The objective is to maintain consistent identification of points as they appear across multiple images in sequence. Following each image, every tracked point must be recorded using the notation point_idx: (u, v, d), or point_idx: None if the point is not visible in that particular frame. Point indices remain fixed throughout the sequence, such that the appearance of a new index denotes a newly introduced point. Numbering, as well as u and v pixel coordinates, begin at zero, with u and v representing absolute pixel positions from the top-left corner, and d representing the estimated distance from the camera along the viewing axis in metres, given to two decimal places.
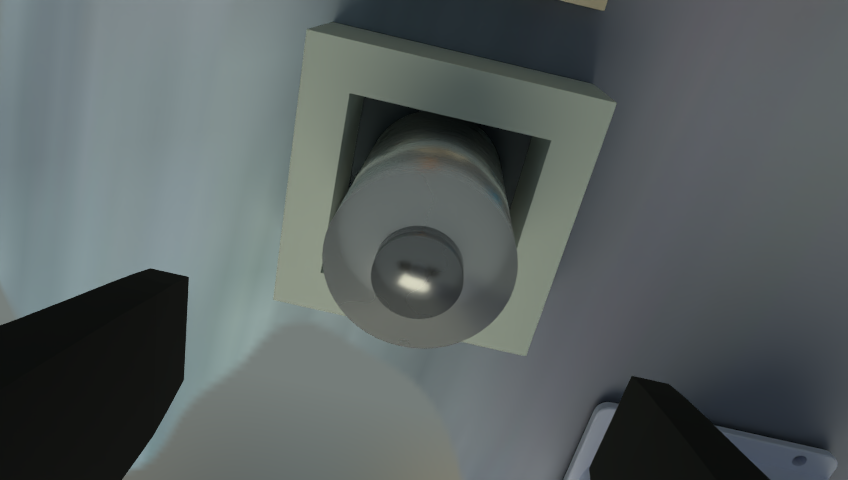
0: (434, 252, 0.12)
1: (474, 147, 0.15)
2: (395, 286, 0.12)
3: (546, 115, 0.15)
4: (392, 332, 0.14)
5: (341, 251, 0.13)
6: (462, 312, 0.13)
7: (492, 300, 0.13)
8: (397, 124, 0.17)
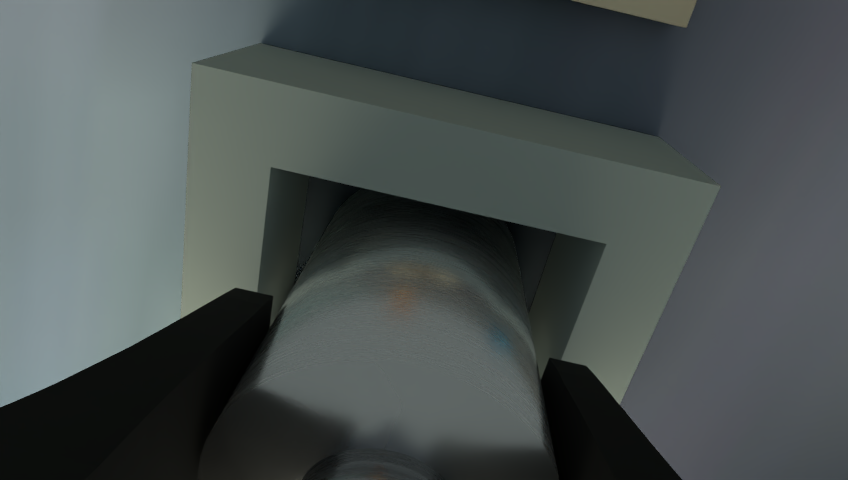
0: None
1: (479, 253, 0.09)
2: None
3: (599, 205, 0.09)
4: None
5: None
6: None
7: None
8: (360, 197, 0.11)
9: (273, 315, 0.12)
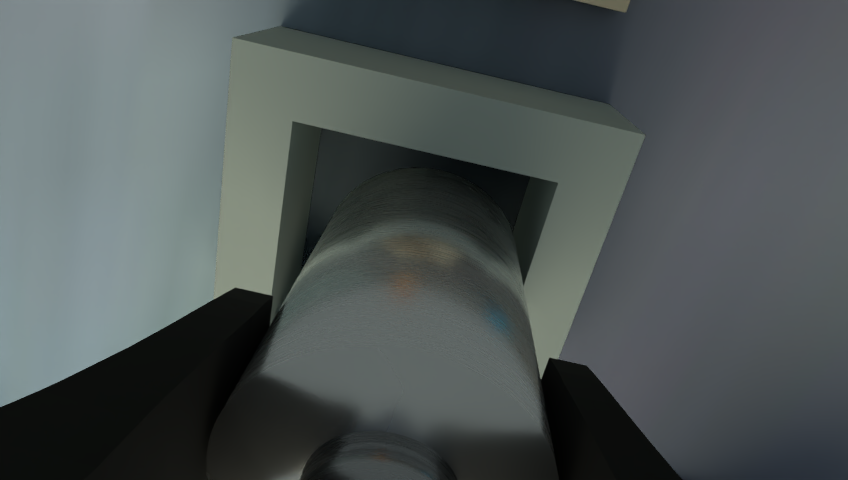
0: None
1: (478, 244, 0.09)
2: None
3: (552, 150, 0.11)
4: None
5: (240, 466, 0.07)
6: None
7: None
8: (362, 191, 0.12)
9: (290, 253, 0.14)
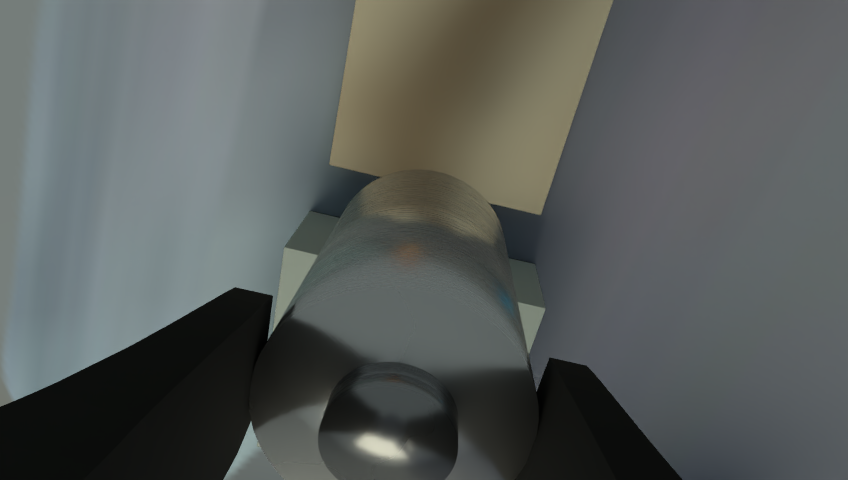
0: (414, 410, 0.08)
1: (473, 228, 0.11)
2: (355, 454, 0.08)
3: None
4: None
5: (277, 394, 0.09)
6: None
7: (500, 466, 0.09)
8: (372, 188, 0.13)
9: None
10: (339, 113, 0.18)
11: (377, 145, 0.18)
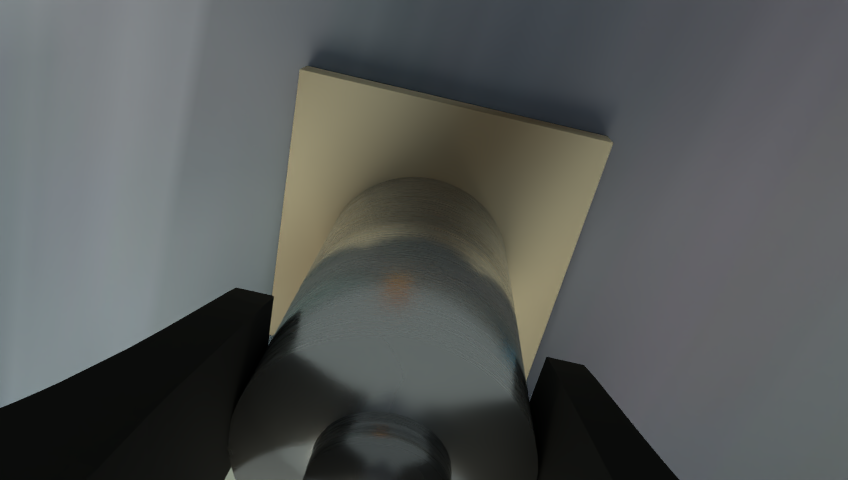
0: (402, 467, 0.07)
1: (471, 250, 0.10)
2: None
3: None
4: None
5: (258, 442, 0.08)
6: None
7: None
8: (365, 198, 0.13)
9: None
10: (276, 280, 0.14)
11: None
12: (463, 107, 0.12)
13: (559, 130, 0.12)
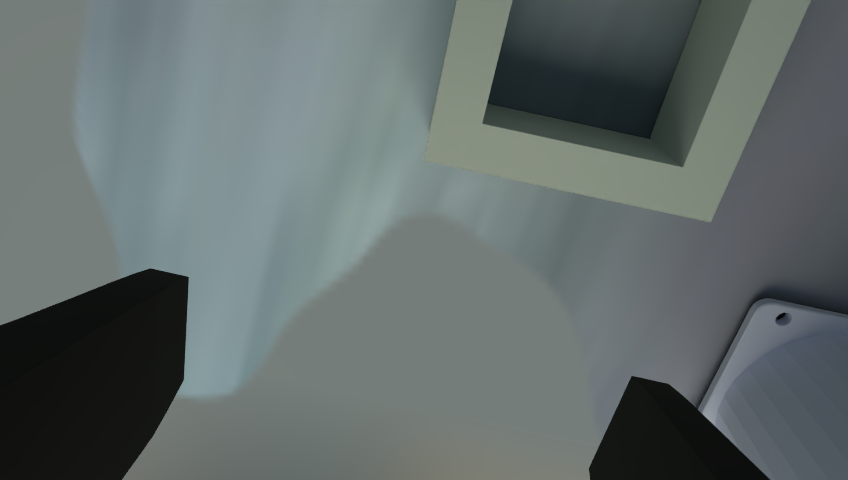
0: None
1: None
2: None
3: None
4: None
5: None
6: None
7: None
8: None
9: None
10: None
11: None
12: None
13: None
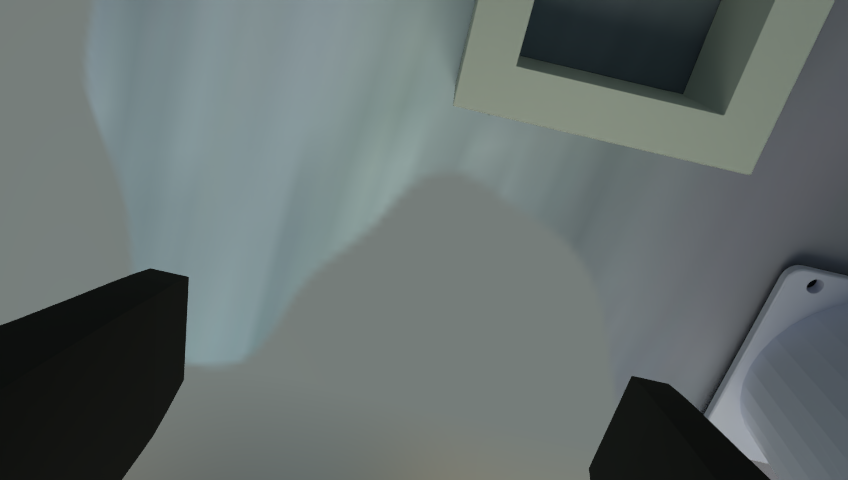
0: None
1: None
2: None
3: None
4: None
5: None
6: None
7: None
8: None
9: None
10: None
11: None
12: None
13: None
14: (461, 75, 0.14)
